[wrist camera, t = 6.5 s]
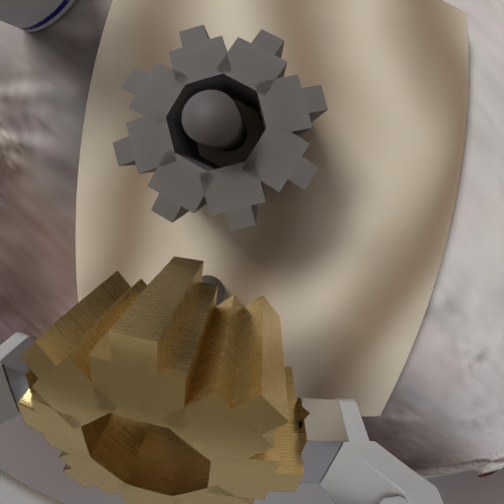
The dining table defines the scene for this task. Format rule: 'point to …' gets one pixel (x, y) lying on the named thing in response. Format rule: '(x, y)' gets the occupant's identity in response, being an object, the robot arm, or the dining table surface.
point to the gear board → (346, 205)
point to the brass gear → (168, 392)
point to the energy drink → (33, 12)
